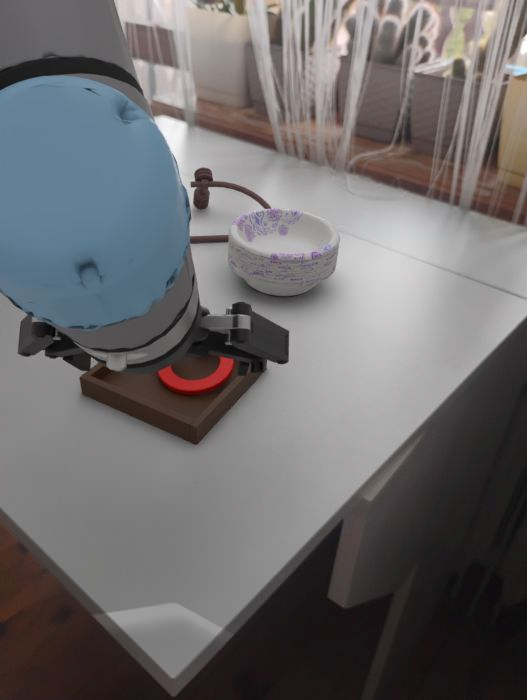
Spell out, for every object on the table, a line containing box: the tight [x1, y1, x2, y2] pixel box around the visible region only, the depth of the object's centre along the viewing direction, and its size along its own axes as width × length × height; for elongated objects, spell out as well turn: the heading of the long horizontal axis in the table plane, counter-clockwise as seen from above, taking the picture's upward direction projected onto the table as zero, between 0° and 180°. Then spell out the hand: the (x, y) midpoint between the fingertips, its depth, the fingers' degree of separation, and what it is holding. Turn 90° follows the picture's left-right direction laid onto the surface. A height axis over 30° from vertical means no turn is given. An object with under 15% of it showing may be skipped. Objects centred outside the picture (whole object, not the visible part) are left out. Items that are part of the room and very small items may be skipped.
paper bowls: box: [227, 207, 341, 297], centre depth 87 cm, size 15×15×8 cm
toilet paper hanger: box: [190, 167, 272, 243], centre depth 103 cm, size 22×8×14 cm
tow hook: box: [158, 356, 234, 395], centre depth 65 cm, size 8×13×9 cm
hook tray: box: [79, 354, 268, 445], centre depth 69 cm, size 15×15×2 cm
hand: (165, 358), depth 55 cm, fingers open, 13 cm apart
